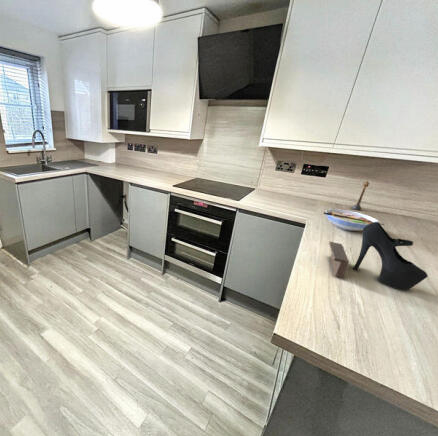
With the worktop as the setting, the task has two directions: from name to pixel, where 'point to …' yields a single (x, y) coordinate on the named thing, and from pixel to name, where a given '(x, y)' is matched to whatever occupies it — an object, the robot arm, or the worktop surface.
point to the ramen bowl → (349, 219)
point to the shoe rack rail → (338, 259)
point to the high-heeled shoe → (390, 258)
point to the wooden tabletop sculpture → (357, 206)
